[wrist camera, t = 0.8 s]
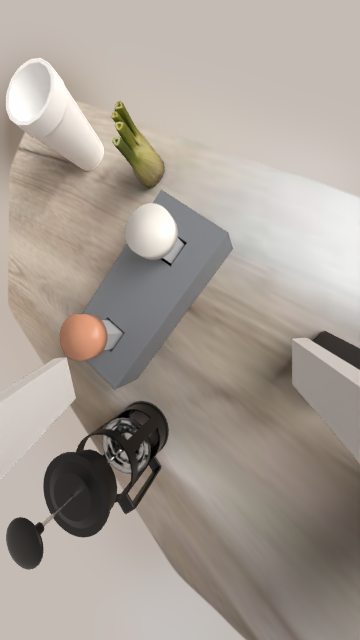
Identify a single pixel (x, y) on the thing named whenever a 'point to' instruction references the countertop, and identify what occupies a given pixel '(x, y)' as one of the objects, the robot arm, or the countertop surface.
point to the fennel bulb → (136, 148)
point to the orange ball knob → (88, 336)
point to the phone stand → (339, 348)
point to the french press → (92, 482)
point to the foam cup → (52, 114)
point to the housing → (155, 292)
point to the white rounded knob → (153, 233)
